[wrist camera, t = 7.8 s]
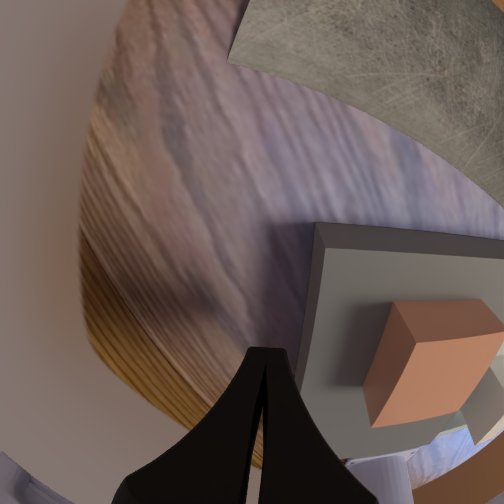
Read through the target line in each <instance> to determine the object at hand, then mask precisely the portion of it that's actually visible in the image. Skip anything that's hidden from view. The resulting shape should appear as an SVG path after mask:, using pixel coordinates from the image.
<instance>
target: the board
mask: <svg viewBox="0 0 504 504" xmlns="http://www.w3.org/2000/svg"><path fill="white" fill-rule="evenodd" d="M477 299H481V300H482V301H483V302H484V303H485V304H486V305H487V306H488V307H489V308H490V310H491V311H492V312H493V313H494V314H495V315H496V316H497V317H498V319H499V320H500V321H501V322H502V323H503V324H504V241H502V240H495V239H488V238H480V237H472V236H464V235H456V234H447V233H438V232H429V231H419V230H409V229H398V228H387V227H375V226H363V225H350V224H336V223H321V222H315V230H314V241H313V251H312V260H311V269H310V277H309V286H308V293H307V301H306V308H305V315H304V322H303V329H302V336H301V342H300V348H299V354H298V360H297V366H296V371H295V377H294V380H295V383H296V385H297V388H298V390H299V393H300V395H301V397H302V399H303V402H304V404H305V406H306V408H307V410H308V412H309V414H310V416H311V417H312V419H313V421H314V423H315V424H316V426H317V428H318V429H319V431H320V433H321V434H322V436H323V437H324V439H325V440H326V442H327V443H328V445H329V446H330V447H331V449H332V450H333V451H334V453H335V454H336V455H337V456H338V458H339V459H346V458H356V457H364V456H372V455H379V454H385V453H391V452H396V451H401V450H406V449H410V448H415V447H419V446H423V445H427V444H430V443H431V441H432V440H433V439H434V438H435V437H436V436H437V435H438V434H439V433H440V432H441V430H442V429H443V428H444V427H445V426H446V425H447V424H448V422H449V421H450V420H451V419H452V417H453V416H454V415H455V414H456V413H457V411H456V412H452V413H449V414H445V415H441V416H437V417H432V418H428V419H423V420H419V421H414V422H408V423H403V424H397V425H390V426H383V427H375V428H371V425H370V420H369V416H368V411H367V407H366V402H365V398H364V393H363V389H362V386H363V384H364V381H365V379H366V377H367V374H368V372H369V369H370V367H371V364H372V362H373V359H374V357H375V354H376V351H377V349H378V346H379V343H380V340H381V338H382V335H383V332H384V329H385V326H386V323H387V320H388V317H389V313H390V310H391V307H392V304H393V301H450V300H477Z"/></svg>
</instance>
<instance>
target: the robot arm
mask: <svg viewBox="0 0 504 504" xmlns="http://www.w3.org/2000/svg"><path fill="white" fill-rule="evenodd" d="M262 407H263V465H262V474H261V484H260V492H259V500H258V504H414V502H413V497H412V491H411V486H410V480H409V475H408V471H407V466H406V461H408V460H409V459H410V458H411V457H412V456H413V455H414V454H415V453H416V452H417V451H418V449H419V448H418V447H415V448H410V449H406V450H401V451H396V452H391V453H385V454H379V455H372V456H364V457H356V458H349V459H348V460H347V462H346V463H345V464H343V463H342V461H341V460H340V459H339V458H338V456H337V455H336V454H335V453H334V451H333V450H332V449H331V447H330V446H329V445H328V443H327V442H326V440H325V439H324V437H323V436H322V434H321V433H320V431H319V429H318V428H317V426H316V424H315V423H314V421H313V419H312V417H311V416H310V414H309V412H308V410H307V408H306V406H305V404H304V402H303V399H302V397H301V395H300V393H299V390H298V388H297V385H296V383H295V380H294V377H293V374H292V371H291V368H290V365H289V361H288V356H287V351H286V350H285V349H284V348H266V347H252V346H251V347H249V348H248V350H247V352H246V355H245V357H244V359H243V362H242V364H241V365H240V367H239V369H238V371H237V373H236V374H235V376H234V378H233V379H232V381H231V382H230V384H229V385H228V387H227V388H226V390H225V391H224V393H223V394H222V395H221V397H220V398H219V399H218V401H217V402H216V403H215V405H214V406H213V407H212V408H211V410H210V411H209V412H208V413H207V414H206V415H205V416H204V418H203V419H202V420H201V421H200V422H199V423H198V424H197V425H196V426H195V427H194V428H193V429H192V430H191V431H190V432H189V433H188V434H187V435H185V436H184V437H183V438H182V439H181V440H180V441H179V442H177V443H176V444H175V445H174V446H172V447H171V448H170V449H168V450H167V451H166V452H165V453H163V454H162V455H160V456H159V457H158V458H156V459H155V460H153V461H152V462H150V463H149V464H147V465H146V466H144V467H142V468H140V469H139V470H137V471H135V472H133V473H132V474H130V475H128V476H126V478H125V479H124V480H123V481H122V483H121V484H120V486H119V488H118V489H117V491H116V494H115V495H114V498H113V501H112V503H111V504H246V497H247V489H248V482H249V473H250V466H251V459H252V454H253V449H254V444H255V440H256V435H257V431H258V426H259V422H260V417H261V412H262ZM0 504H74V503H73V502H71V501H69V500H67V499H66V498H64V497H62V496H61V495H59V494H58V493H56V492H54V491H53V490H51V489H50V488H48V487H47V486H46V485H44V484H43V483H41V482H40V481H38V480H37V479H36V478H34V477H33V476H31V475H30V474H29V473H28V472H27V471H26V470H24V469H23V468H22V467H20V466H19V465H18V464H17V463H16V462H14V461H13V460H12V459H11V458H10V457H8V456H7V455H6V454H5V453H4V452H3V451H1V452H0ZM485 504H504V492H503V493H501V494H499V495H498V496H496V497H495V498H493V499H491V500H490V501H488V502H486V503H485Z"/></svg>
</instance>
